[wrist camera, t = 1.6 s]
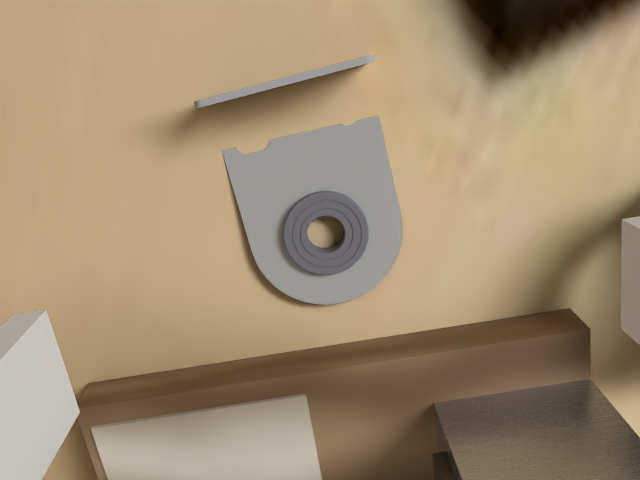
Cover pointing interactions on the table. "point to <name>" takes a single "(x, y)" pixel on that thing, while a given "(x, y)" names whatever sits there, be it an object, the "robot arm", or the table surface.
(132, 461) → the brown wooden flat board
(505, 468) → the grey box
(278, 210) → the bracket
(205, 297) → the table surface
